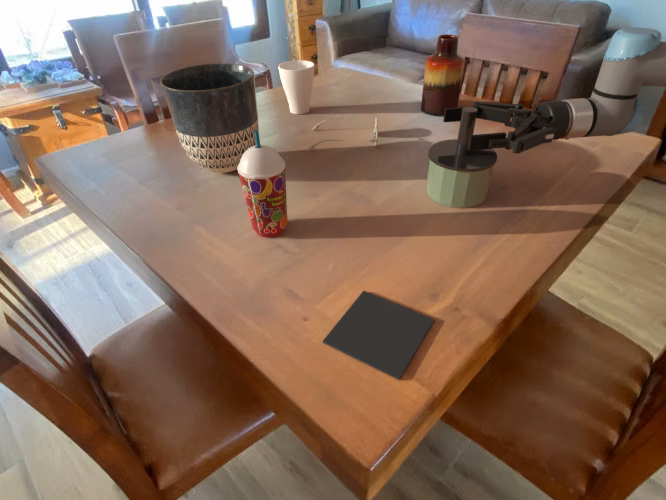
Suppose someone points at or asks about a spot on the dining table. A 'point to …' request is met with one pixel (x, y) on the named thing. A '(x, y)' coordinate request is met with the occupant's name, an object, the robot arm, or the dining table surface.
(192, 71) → the planter
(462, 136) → the lid
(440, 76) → the vase
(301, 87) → the cup
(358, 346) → the mat
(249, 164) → the smoothie
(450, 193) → the pot
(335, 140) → the eyeglasses
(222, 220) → the dining table surface
